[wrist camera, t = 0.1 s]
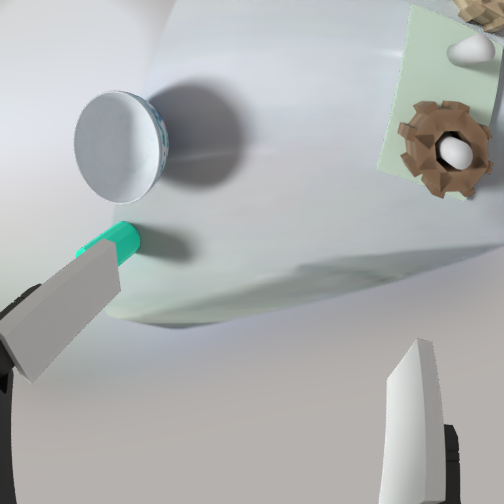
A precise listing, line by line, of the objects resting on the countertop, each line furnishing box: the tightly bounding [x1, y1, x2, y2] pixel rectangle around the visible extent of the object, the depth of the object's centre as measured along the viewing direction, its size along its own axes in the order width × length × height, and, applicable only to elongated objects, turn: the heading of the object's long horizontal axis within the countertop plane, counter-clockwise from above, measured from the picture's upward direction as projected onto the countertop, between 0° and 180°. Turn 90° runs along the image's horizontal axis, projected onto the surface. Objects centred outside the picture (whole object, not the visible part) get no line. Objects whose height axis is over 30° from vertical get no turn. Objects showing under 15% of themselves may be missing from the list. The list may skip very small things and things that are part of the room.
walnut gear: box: [397, 100, 493, 198], centre depth 26 cm, size 10×10×6 cm
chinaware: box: [74, 91, 169, 204], centre depth 37 cm, size 15×15×8 cm
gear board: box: [377, 4, 503, 202], centre depth 23 cm, size 21×12×10 cm, turn 171°
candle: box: [76, 221, 140, 266], centre depth 45 cm, size 6×6×12 cm
